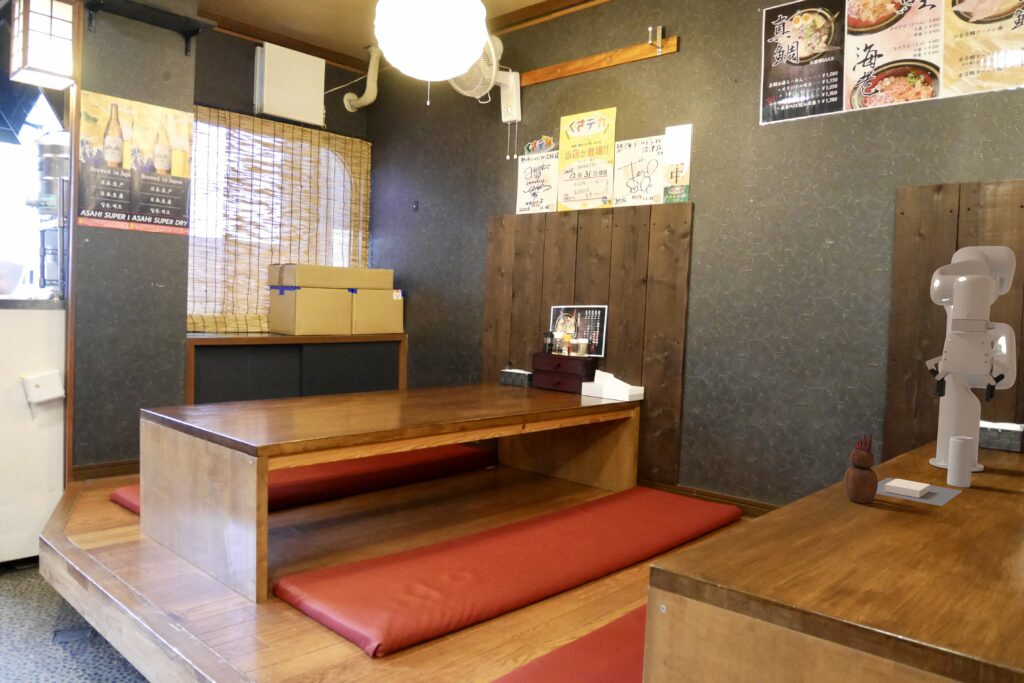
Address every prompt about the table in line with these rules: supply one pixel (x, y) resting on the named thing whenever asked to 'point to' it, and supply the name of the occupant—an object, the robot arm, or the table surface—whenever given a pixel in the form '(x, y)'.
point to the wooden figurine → (861, 473)
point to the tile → (907, 488)
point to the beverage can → (960, 461)
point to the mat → (933, 496)
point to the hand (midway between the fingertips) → (964, 398)
